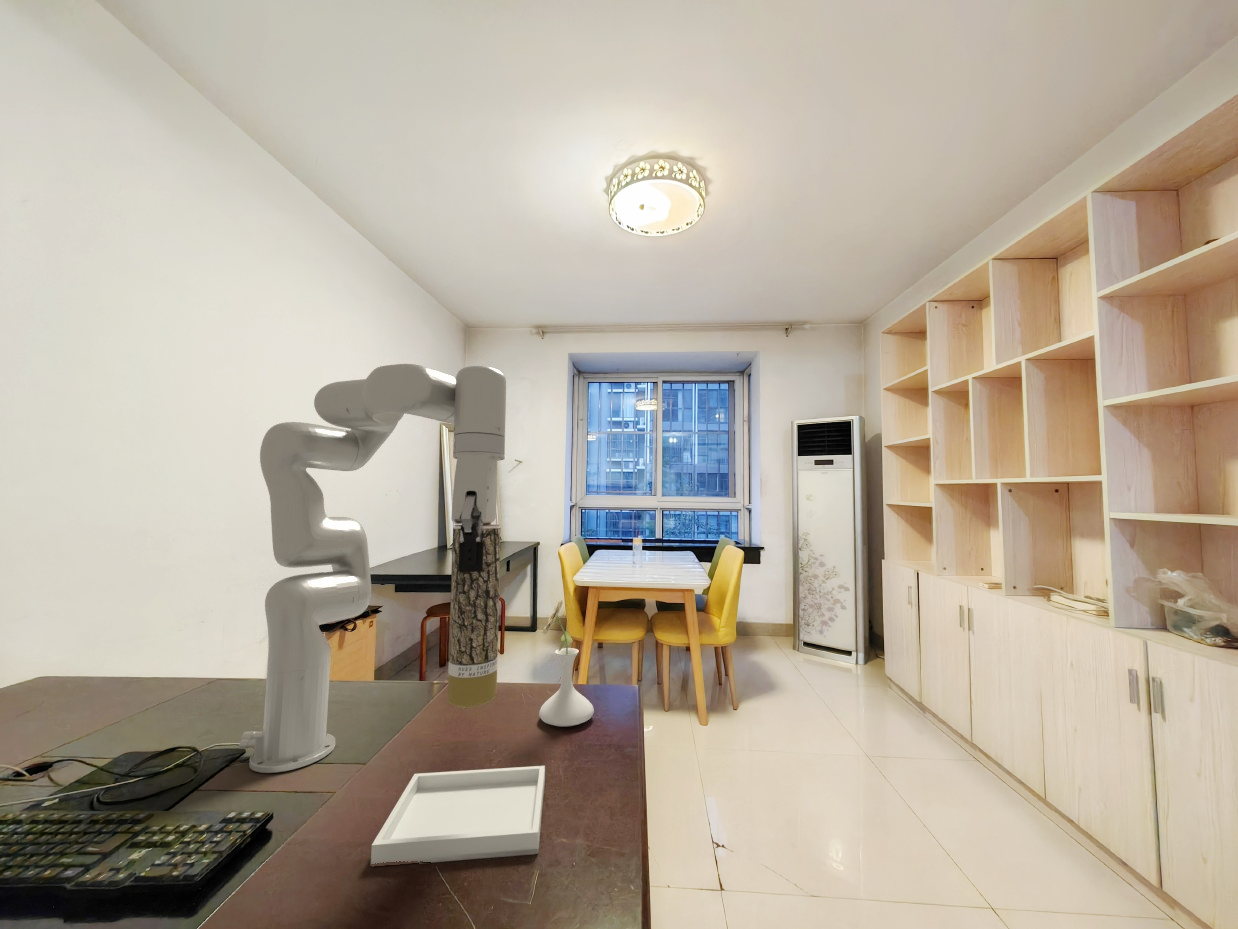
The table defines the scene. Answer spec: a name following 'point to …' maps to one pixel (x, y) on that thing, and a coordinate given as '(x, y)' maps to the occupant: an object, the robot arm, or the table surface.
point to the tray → (464, 816)
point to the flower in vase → (565, 686)
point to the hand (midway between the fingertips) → (476, 567)
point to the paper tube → (474, 624)
